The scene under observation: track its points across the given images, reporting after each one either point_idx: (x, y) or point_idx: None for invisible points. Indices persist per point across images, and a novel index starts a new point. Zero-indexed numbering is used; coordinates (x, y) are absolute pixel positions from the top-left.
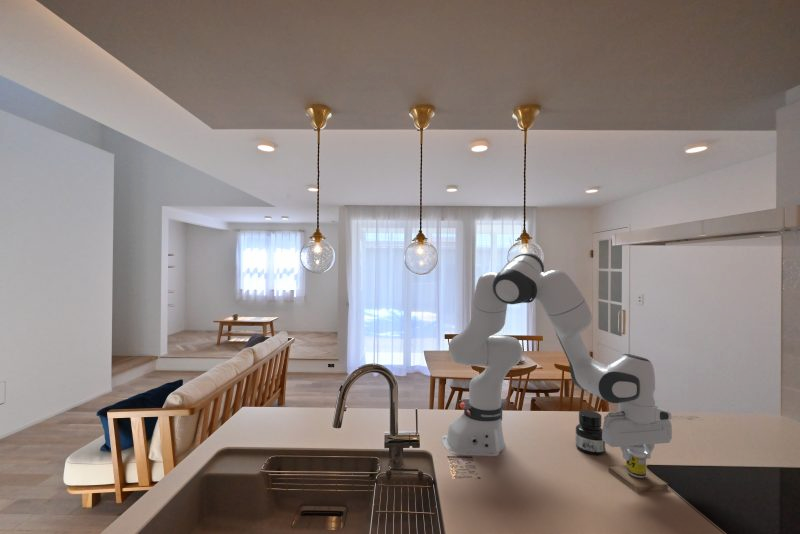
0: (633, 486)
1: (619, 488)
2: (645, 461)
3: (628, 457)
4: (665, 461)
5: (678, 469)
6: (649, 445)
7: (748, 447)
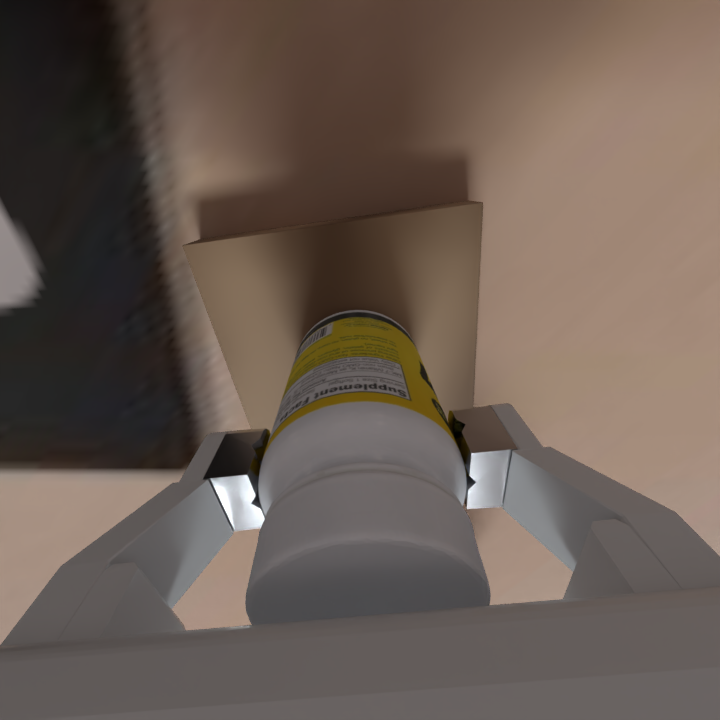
0: (476, 238)
1: (547, 258)
2: (306, 384)
3: (514, 423)
4: (59, 494)
5: (13, 433)
6: (130, 601)
7: None
